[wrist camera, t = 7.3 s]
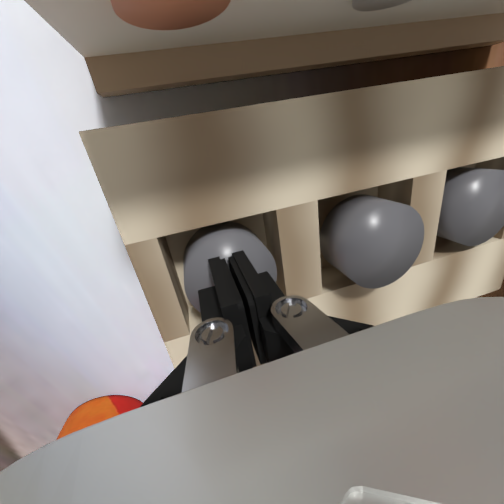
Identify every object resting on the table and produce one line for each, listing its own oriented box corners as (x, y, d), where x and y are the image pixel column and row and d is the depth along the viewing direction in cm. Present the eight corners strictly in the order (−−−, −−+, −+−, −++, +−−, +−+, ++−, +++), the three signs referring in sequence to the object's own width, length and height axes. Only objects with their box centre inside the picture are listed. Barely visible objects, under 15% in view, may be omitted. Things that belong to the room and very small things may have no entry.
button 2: (478, 160, 16) (527, 162, 14) (465, 225, 18) (506, 236, 16) (421, 174, 15) (462, 178, 13) (413, 240, 17) (448, 254, 15)
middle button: (389, 186, 14) (429, 194, 12) (384, 257, 16) (418, 275, 14) (317, 203, 13) (345, 215, 11) (320, 276, 15) (345, 298, 13)
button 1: (255, 212, 13) (271, 225, 11) (266, 282, 15) (281, 305, 13) (172, 231, 13) (171, 250, 10) (194, 302, 15) (197, 330, 12)
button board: (493, 73, 16) (570, 55, 13) (453, 268, 22) (500, 288, 18) (105, 136, 12) (78, 131, 9) (185, 353, 18) (186, 398, 14)
